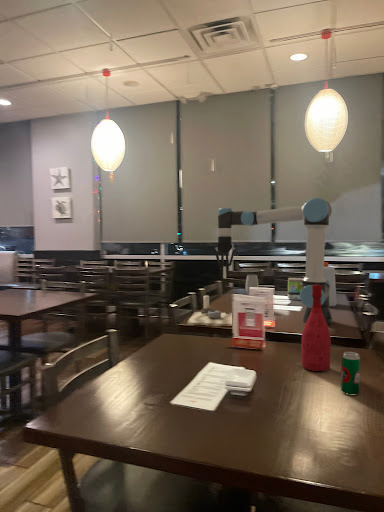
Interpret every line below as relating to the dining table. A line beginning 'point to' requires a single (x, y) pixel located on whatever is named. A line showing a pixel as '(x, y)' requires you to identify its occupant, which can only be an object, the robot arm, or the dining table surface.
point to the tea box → (294, 288)
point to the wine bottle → (316, 336)
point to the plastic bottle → (330, 275)
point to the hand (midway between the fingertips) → (224, 278)
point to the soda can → (350, 373)
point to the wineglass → (251, 282)
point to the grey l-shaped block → (210, 312)
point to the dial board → (210, 319)
